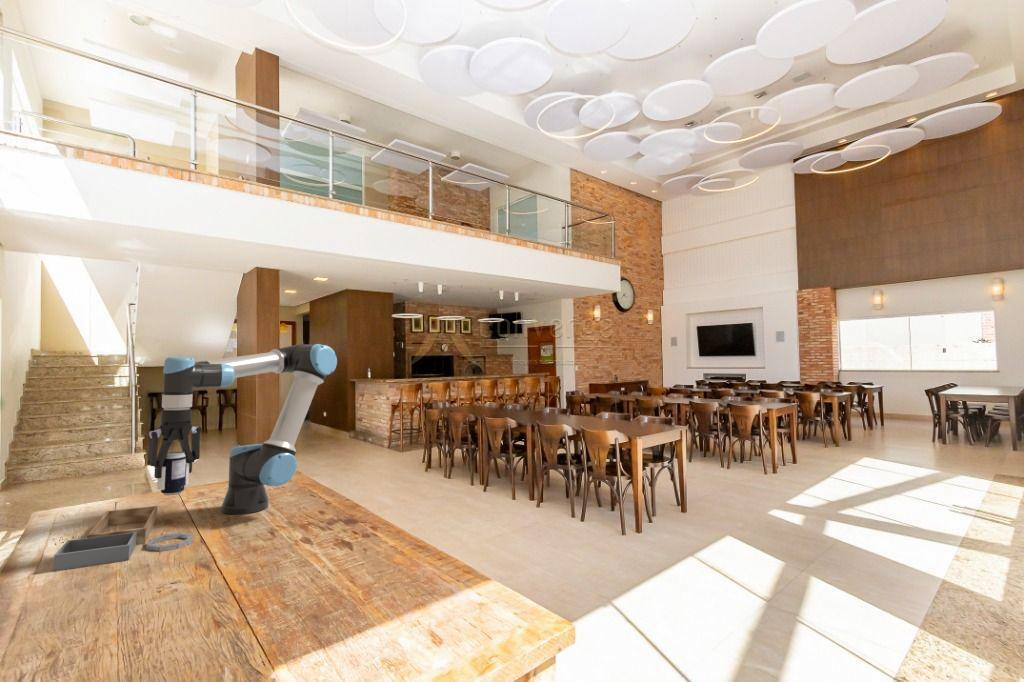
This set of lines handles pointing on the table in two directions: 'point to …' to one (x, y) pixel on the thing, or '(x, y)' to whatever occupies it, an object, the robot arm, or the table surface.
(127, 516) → the parts crate
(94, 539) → the bus tray
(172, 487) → the beverage can
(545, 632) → the table surface
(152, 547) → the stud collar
